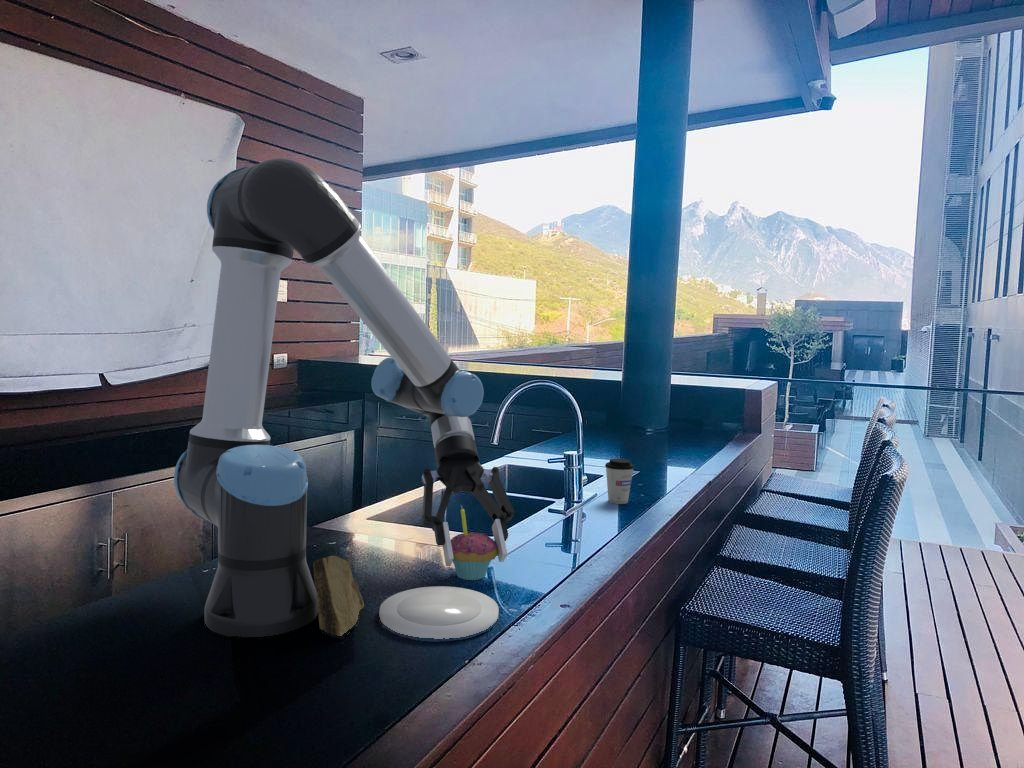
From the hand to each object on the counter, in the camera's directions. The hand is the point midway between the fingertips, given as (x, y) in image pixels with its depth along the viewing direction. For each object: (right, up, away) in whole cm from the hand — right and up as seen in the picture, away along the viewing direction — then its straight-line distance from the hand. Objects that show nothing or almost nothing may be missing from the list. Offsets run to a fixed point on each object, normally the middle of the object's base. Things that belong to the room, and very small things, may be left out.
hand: (476, 560), depth 119 cm
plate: (-5, -5, -14) cm, 15 cm away
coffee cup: (+31, 0, +57) cm, 65 cm away
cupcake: (-1, -4, +4) cm, 5 cm away
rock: (-18, -5, -16) cm, 24 cm away
